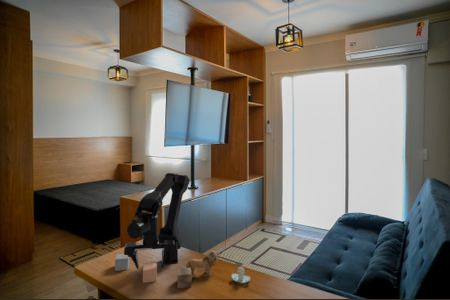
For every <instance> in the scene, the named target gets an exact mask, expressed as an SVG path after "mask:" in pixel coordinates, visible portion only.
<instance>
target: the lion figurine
mask: <svg viewBox="0 0 450 300" xmlns="http://www.w3.org/2000/svg"><path fill="white" fill-rule="evenodd" d="M218 257H219V255H218V252H217V251H215V250H211V251H209V253H208V254H207V255H206V256H205V257H204V258H200V259H197V258H191V259H189V261H188V262H187V263H186V266H185V268H191V274H192V277H193V278H194V279H195V278H197V275H196V274H195V270H196V268H198V269H201V270H202V269H204V272H205V273H206V274H207V276H208V277H210V276H212V273H210V272H211V268H213V267H214V266H215V265H216V263H217V261H218Z"/></svg>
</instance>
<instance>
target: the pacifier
mask: <svg viewBox="0 0 450 300" xmlns="http://www.w3.org/2000/svg"><path fill="white" fill-rule="evenodd" d="M236 270H237V273H232V274H231V279H232V280H233V281H234V282H235V283H238V282H239V283H238V284H246V283H247V282H250V281H251V276H249V275H245V273H246V271H245V268H244V267H242V266H239V267H237V269H236Z"/></svg>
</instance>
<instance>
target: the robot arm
mask: <svg viewBox="0 0 450 300" xmlns="http://www.w3.org/2000/svg"><path fill="white" fill-rule="evenodd" d="M190 181H191V180H190V178H189V176H188V175H187V174H179V173H178V174H177V173H176V172H175V173H174V172H168V173H167V172H166V174H165V175H164V177H163V179H162V180H161V181H160V182H159V184H158V185H157V186H156V187H155V188H154V190H153V191H152V192H151V191H150V192H149V193H147V194H146V195H144V196H143V197H142V198H141V199H140V200H139V203H138V205H137V208H136V211H135V213H134V217H135V218H133V219H132V220H131V222H130V223H129V225H128V227H127V228H126V231H127V234H128V236H129V237H130V238H131V239H133V240H134V239H135V240H136V239H139V238H140V240H141V239H142V244H137V241H129V242H128V241H127V242H126V244H125V245H124V248H123V249H124V250H123V254H124V255H128V257H129V258H131V259H130V260H132V262H133V263H134V266H135V268H136V270H139V269H140V267H139V266H140V265H139V264H140V263H139V255H138V251H146V250H157V249H158V250H160V249H161V268H164V265H167V264H168V265H169V264H177V263H179V257H178V254H179V253H178V252H179V250H180V249H181V247H182V245H183V240H181V238H180V237H179V234H180V231H179V229H178V221H179V217H180V216H179V215H180V210H181V204H182V200H183V195H184V194H185V192H187V190H188V188H189V185H190ZM170 190H171V192H172V193H171V197H170V203H169V206H168V207H169V208H168V210H167V211H168V213H167V217H166V222H165V225H164V226H163V227H160V229H159V216H161V212H160V211H161V208H162V206H163V199H164V198H165V196H166V195H167V194H168V193H169V191H170Z"/></svg>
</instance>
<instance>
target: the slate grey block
mask: <svg viewBox="0 0 450 300" xmlns="http://www.w3.org/2000/svg"><path fill="white" fill-rule="evenodd" d="M129 266H130V257H128V255H124V253H116V256H115V259H114V271H115V272H118V271H128V270H129Z"/></svg>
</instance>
